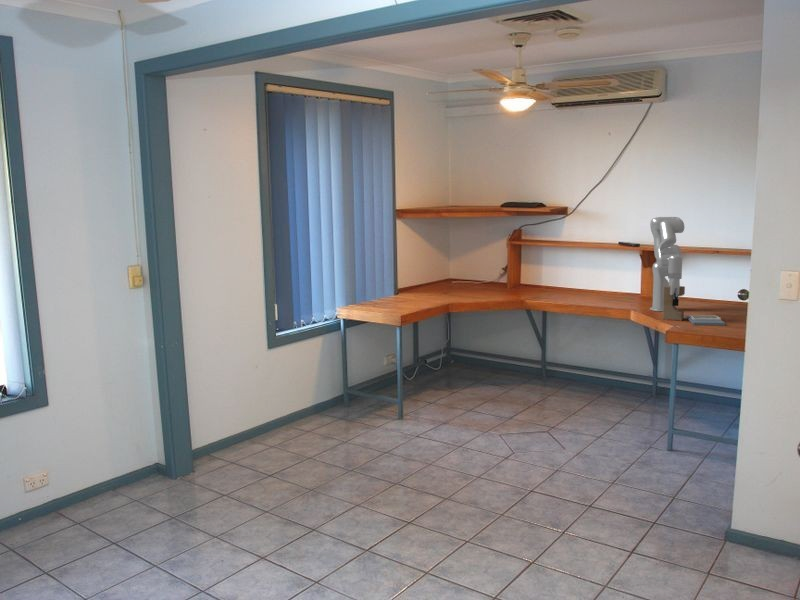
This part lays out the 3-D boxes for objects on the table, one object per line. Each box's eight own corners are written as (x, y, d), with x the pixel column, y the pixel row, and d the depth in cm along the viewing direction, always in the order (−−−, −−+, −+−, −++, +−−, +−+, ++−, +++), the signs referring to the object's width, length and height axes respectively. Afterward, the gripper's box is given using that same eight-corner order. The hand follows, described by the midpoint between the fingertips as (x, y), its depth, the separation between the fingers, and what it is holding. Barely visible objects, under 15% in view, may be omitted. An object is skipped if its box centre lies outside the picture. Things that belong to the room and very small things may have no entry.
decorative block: (683, 319, 409) (685, 286, 406) (681, 320, 404) (683, 287, 401) (664, 317, 415) (665, 285, 412) (662, 319, 410) (663, 286, 407)
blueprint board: (684, 317, 414) (684, 313, 414) (714, 317, 411) (714, 313, 411) (693, 324, 391) (693, 320, 391) (725, 325, 388) (725, 321, 387)
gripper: (665, 274, 414) (664, 302, 417) (670, 277, 397) (669, 306, 400) (678, 274, 413) (677, 302, 415) (684, 277, 396) (683, 306, 398)
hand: (673, 304), depth 407 cm, fingers open, 9 cm apart
